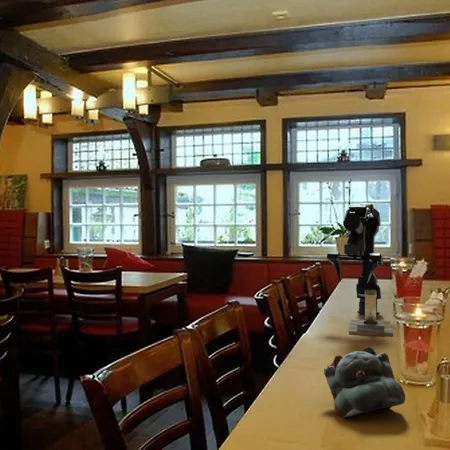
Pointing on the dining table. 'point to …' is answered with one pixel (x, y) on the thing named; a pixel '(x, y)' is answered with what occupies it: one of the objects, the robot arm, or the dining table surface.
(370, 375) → the lucky cat figurine
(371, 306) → the tan cylinder
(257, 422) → the dining table surface
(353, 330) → the walnut eye plate
